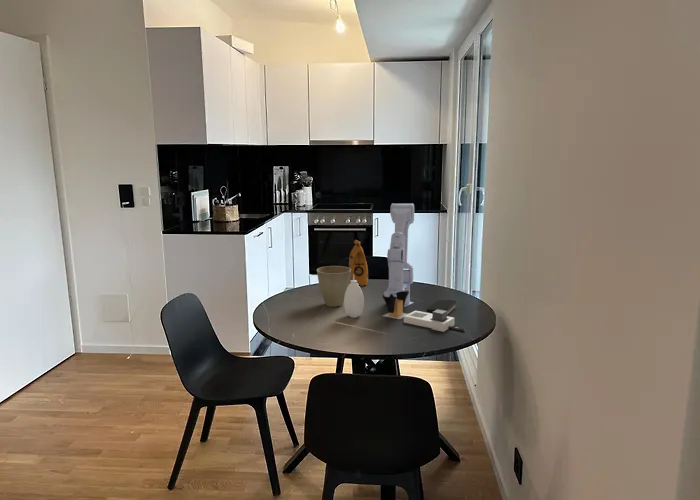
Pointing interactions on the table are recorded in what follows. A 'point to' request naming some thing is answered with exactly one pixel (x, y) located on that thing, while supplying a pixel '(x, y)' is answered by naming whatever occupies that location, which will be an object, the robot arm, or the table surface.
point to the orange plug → (397, 308)
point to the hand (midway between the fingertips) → (396, 310)
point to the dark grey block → (439, 315)
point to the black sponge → (442, 306)
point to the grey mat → (394, 316)
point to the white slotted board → (430, 321)
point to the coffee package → (358, 265)
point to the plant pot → (333, 284)
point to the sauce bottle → (354, 299)
